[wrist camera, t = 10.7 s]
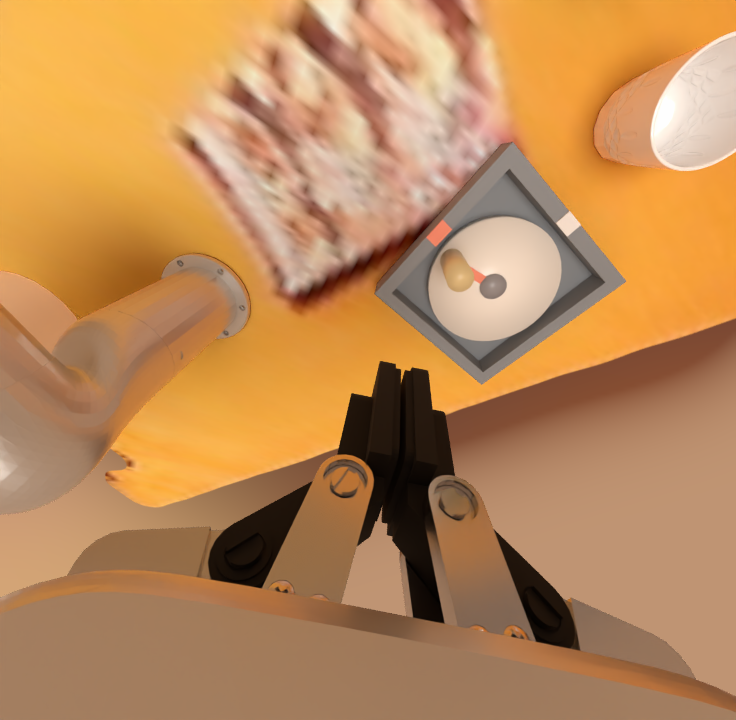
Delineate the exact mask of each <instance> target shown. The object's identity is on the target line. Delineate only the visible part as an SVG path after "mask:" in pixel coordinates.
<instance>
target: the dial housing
mask: <svg viewBox="0 0 736 720" xmlns="http://www.w3.org/2000/svg"><path fill="white" fill-rule="evenodd" d="M495 215H509V216H515V217H519V218H522V219H524V220H527V221H529V222H531V223H533V224H535V225H537V226H538V227H540V228H542V229H543V230H544V231H545V232H546V233H547V234H548V235H549V236H550V237H551V238H552V239H553V241H554V243H555V245H556V246H557V249H558V251H559V254H560V259H561V269H562V271H561V280H560V284H559V288H558V290H557V293H556V295H555V297H554V299H553V301H552V303H551V304H550V305H549V307H548V308H547V310H546V311H545V312H544V313H543V314H542V315H541V317H539V318H538V319H537V320H536V321H535V322H534V323H533V324H531V325H530V326H529V327H527V328H526V329H524V330H522V331H521V332H519V333H516V334H514V335H512V336H509V337H506V338H503V339H499V340H492V341H475V340H469V339H465V338H463V337H460V336H458V335H456V334H454V333H452V332H451V331H449V330H448V329H447V328H445V327H444V326H443V325H442V324H441V323H440V321H439V320H438V319H437V317H436V315H435V314H434V312H433V309H432V307H431V303H430V299H429V293H428V277H429V271H430V268H431V264H432V262H433V260H434V257H435V256H436V254H437V252H438V250H439V249H440V248H441V246H442V245H443V244H444V242H445V241H446V240H447V239H448V238H449V237H450V236H451V235H452V234H454V233H455V232H456V231H457V230H458V229H460V228H462V227H463V226H465V225H466V224H468V223H471V222H473V221H475V220H478V219H481V218H484V217H488V216H495ZM625 282H626V280H625V279H624V278H623V277H622V275H621V274H620V273H619V272H618V271H617V269H616V268H615V267H614V266H613V264H612V263H611V262H610V261H609V260H608V258H607V257H606V256H605V255H604V253H603V252H602V251H601V250H600V248H599V247H598V246H597V245H596V244H595V242H594V241H593V240H592V239H591V237H590V236H589V235H588V234H587V233H586V231H585V230H584V229H583V228H582V226H581V224H580V223H579V222H578V221H577V219H576V218H575V217H574V216H573V215H572V213H571V212H570V211H569V210H568V209H567V208H566V207H565V206H564V204H563V203H562V202H561V201H560V199H559V198H558V197H557V196H556V194H555V193H554V192H553V191H552V190H551V188H550V187H549V186H548V185H547V183H546V182H545V181H544V180H543V178H542V177H541V176H540V175H539V174H538V172H537V171H536V170H535V169H534V167H533V166H532V165H531V164H530V163H529V161H528V160H527V159H526V158H525V156H524V155H523V154H522V153H521V151H520V150H519V149H518V148H517V147H516V145H515V144H514V143H513V142H510V143H505V144H501V146H500V147H499V148H498V149H497V150H496V151H495V152H494V153H493V154H492V156H491V157H490V158H489V159H488V160H487V161H486V162H485V163H484V164H483V166H482V167H481V168H480V169H479V170H478V171H477V172H476V173H475V175H474V176H473V177H472V178H471V179H470V180H469V181H468V182H467V183H466V185H465V186H464V187H463V188H462V189H461V190H460V191H459V192H458V194H457V195H456V196H455V197H454V198H453V199H452V200H451V201H450V202H449V204H448V205H447V206H446V207H445V208H444V209H443V210H442V211H441V212H440V214H439V215H438V216H437V217H436V218H435V219H434V220H433V221H432V223H431V224H430V225H429V226H428V227H427V228H426V229H425V230H424V231H423V233H422V234H421V235H420V236H419V237H418V238H417V239H416V240H415V242H414V243H413V244H412V245H411V246H410V247H409V248H408V249H407V250H406V252H405V253H404V254H403V255H402V256H401V257H400V258H399V259H398V260H397V262H396V263H395V264H394V265H393V266H392V267H391V268H390V269H389V271H388V272H387V273H386V274H385V275H384V276H383V277H382V278H381V279H380V281H379V282H378V283H377V286H376V290H375V295H376V296H378V297H379V298H380V299H381V300H382V301H383V302H385V303H386V304H387V305H388V306H389V307H390V308H392V309H393V310H394V311H395V312H396V313H398V314H399V315H400V316H401V317H402V318H403V319H405V320H406V321H407V322H408V323H409V324H411V325H412V326H413V327H414V328H415V329H416V330H418V331H419V332H420V333H421V334H422V335H424V336H425V337H426V338H427V339H428V340H429V341H431V342H432V343H433V344H434V345H435V346H437V347H438V348H439V349H440V350H441V351H442V352H444V353H445V354H446V355H447V356H448V357H449V358H451V359H452V360H453V361H454V362H455V363H457V364H458V365H459V366H460V367H461V368H462V369H464V370H465V371H466V372H467V373H468V374H470V375H471V376H472V377H473V378H474V379H475V380H477V381H478V382H479V383H480V384H481V385H482V384H483V383H485V382H486V381H487V380H489V379H490V378H492V377H493V376H494V375H496V374H497V373H499V372H500V371H501V370H503V369H504V368H506V367H507V366H508V365H510V364H511V363H513V362H514V361H515V360H517V359H518V358H520V357H521V356H522V355H524V354H525V353H527V352H528V351H530V350H531V349H532V348H534V347H535V346H537V345H538V344H539V343H541V342H542V341H544V340H545V339H546V338H548V337H549V336H551V335H552V334H553V333H555V332H556V331H558V330H559V329H560V328H562V327H563V326H565V325H566V324H567V323H569V322H570V321H572V320H573V319H574V318H576V317H577V316H579V315H580V314H581V313H583V312H584V311H586V310H587V309H588V308H590V307H591V306H593V305H594V304H595V303H597V302H598V301H600V300H601V299H602V298H604V297H605V296H607V295H608V294H609V293H611V292H612V291H614V290H615V289H617V288H618V287H619V286H621V285H622V284H624V283H625Z"/></svg>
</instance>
